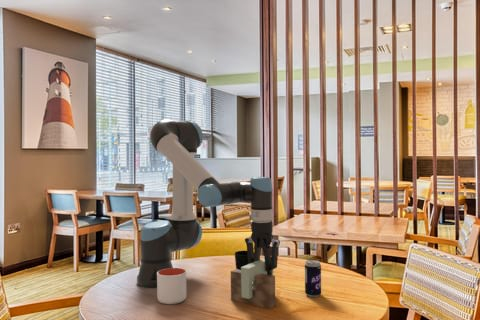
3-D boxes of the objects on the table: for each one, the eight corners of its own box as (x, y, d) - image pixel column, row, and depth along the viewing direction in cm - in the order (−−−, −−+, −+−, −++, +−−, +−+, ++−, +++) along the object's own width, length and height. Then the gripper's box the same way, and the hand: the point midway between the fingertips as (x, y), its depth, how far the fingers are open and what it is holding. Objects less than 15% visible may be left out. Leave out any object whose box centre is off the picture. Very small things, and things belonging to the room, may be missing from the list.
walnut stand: (230, 299, 146) (230, 270, 146) (235, 297, 148) (235, 268, 148) (270, 308, 137) (270, 278, 137) (275, 306, 139) (275, 276, 139)
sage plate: (249, 298, 138) (248, 268, 138) (241, 297, 139) (241, 267, 139) (273, 285, 151) (273, 258, 151) (266, 284, 153) (266, 257, 152)
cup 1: (173, 307, 139) (172, 277, 139) (151, 302, 144) (150, 273, 144) (192, 298, 148) (191, 270, 147) (170, 293, 153) (170, 266, 153)
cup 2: (252, 287, 159) (252, 255, 159) (233, 286, 161) (232, 254, 160) (256, 280, 167) (255, 250, 166) (237, 280, 168) (236, 250, 168)
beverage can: (311, 298, 146) (311, 264, 145) (301, 294, 151) (301, 260, 150) (324, 296, 148) (324, 262, 148) (314, 291, 153) (314, 258, 153)
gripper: (236, 220, 149) (238, 286, 149) (276, 224, 140) (277, 294, 140) (248, 217, 155) (249, 281, 155) (287, 221, 146) (288, 288, 146)
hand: (262, 287), depth 148 cm, fingers closed on sage plate, 3 cm apart
